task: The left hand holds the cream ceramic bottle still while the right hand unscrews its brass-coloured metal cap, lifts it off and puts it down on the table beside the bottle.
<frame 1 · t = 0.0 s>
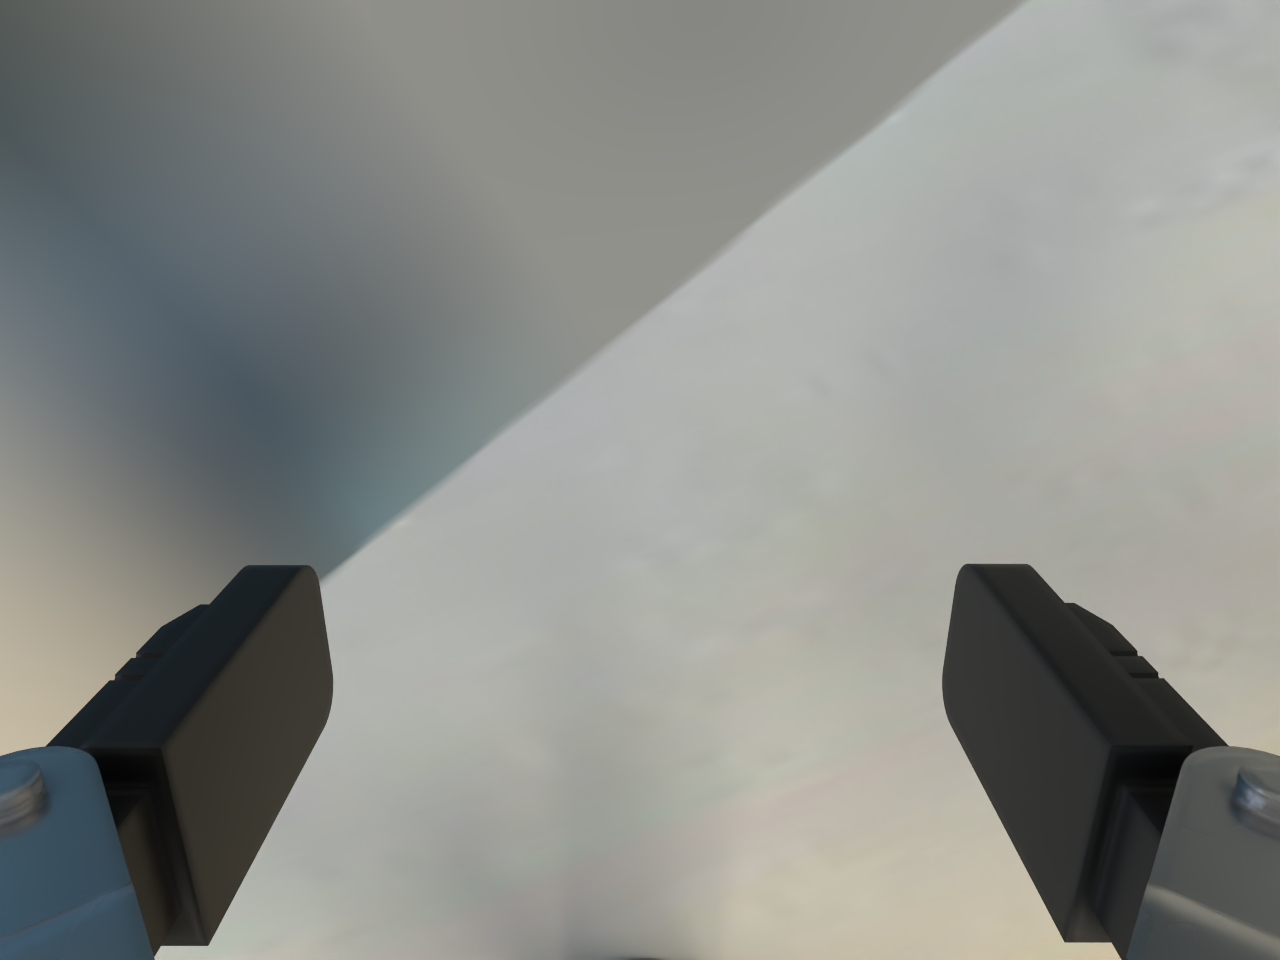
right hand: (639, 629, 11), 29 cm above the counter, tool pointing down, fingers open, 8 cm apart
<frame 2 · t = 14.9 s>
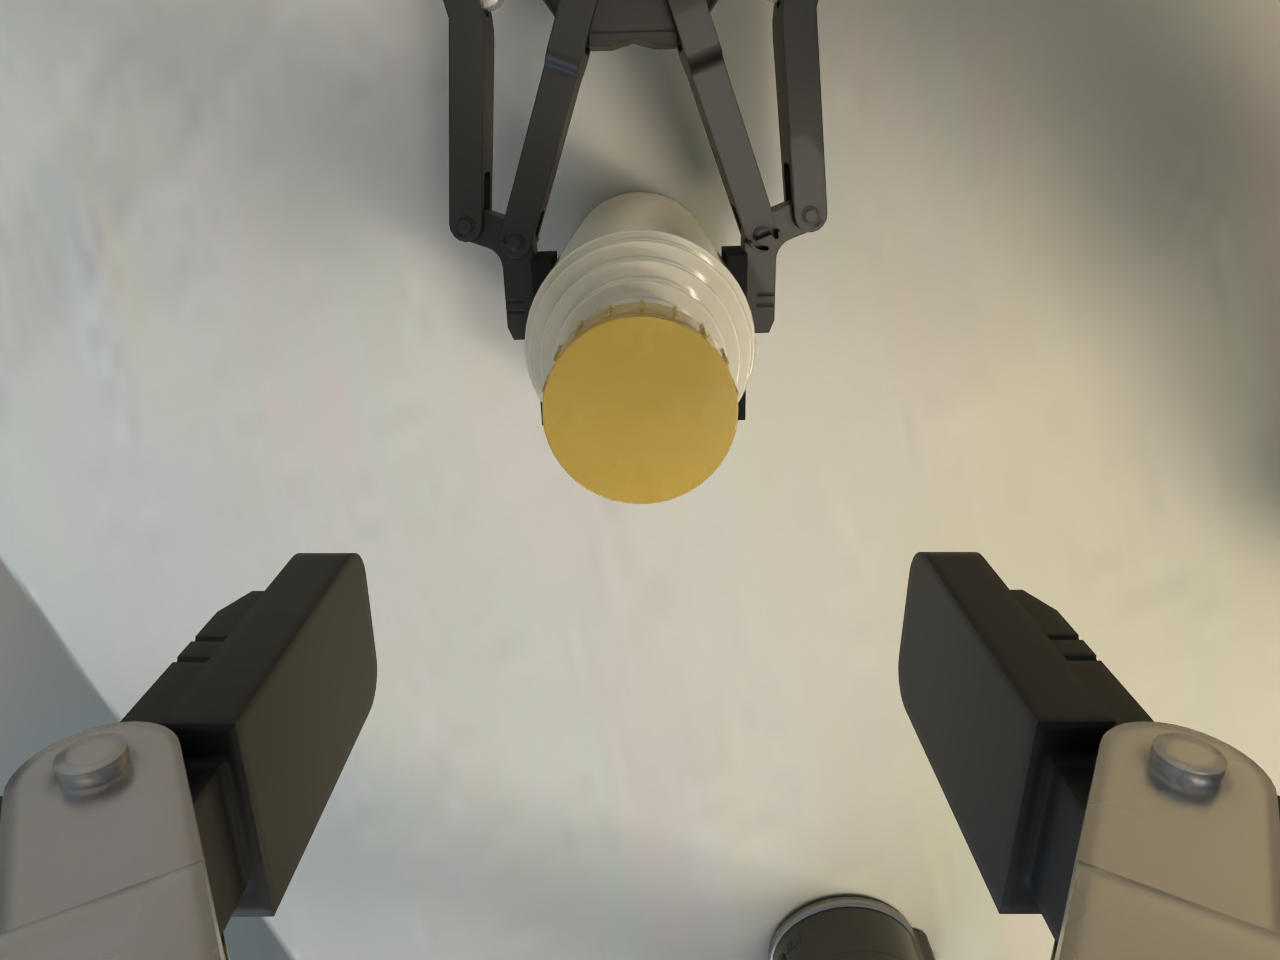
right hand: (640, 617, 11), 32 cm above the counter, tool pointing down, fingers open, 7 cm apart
left hand: (643, 411, 37), fingers closed on bottle, 7 cm apart
bottle: (640, 266, 41), on the counter, touching left hand
cap: (640, 410, 20), point 23 cm above the counter, screwed on, not yet turned
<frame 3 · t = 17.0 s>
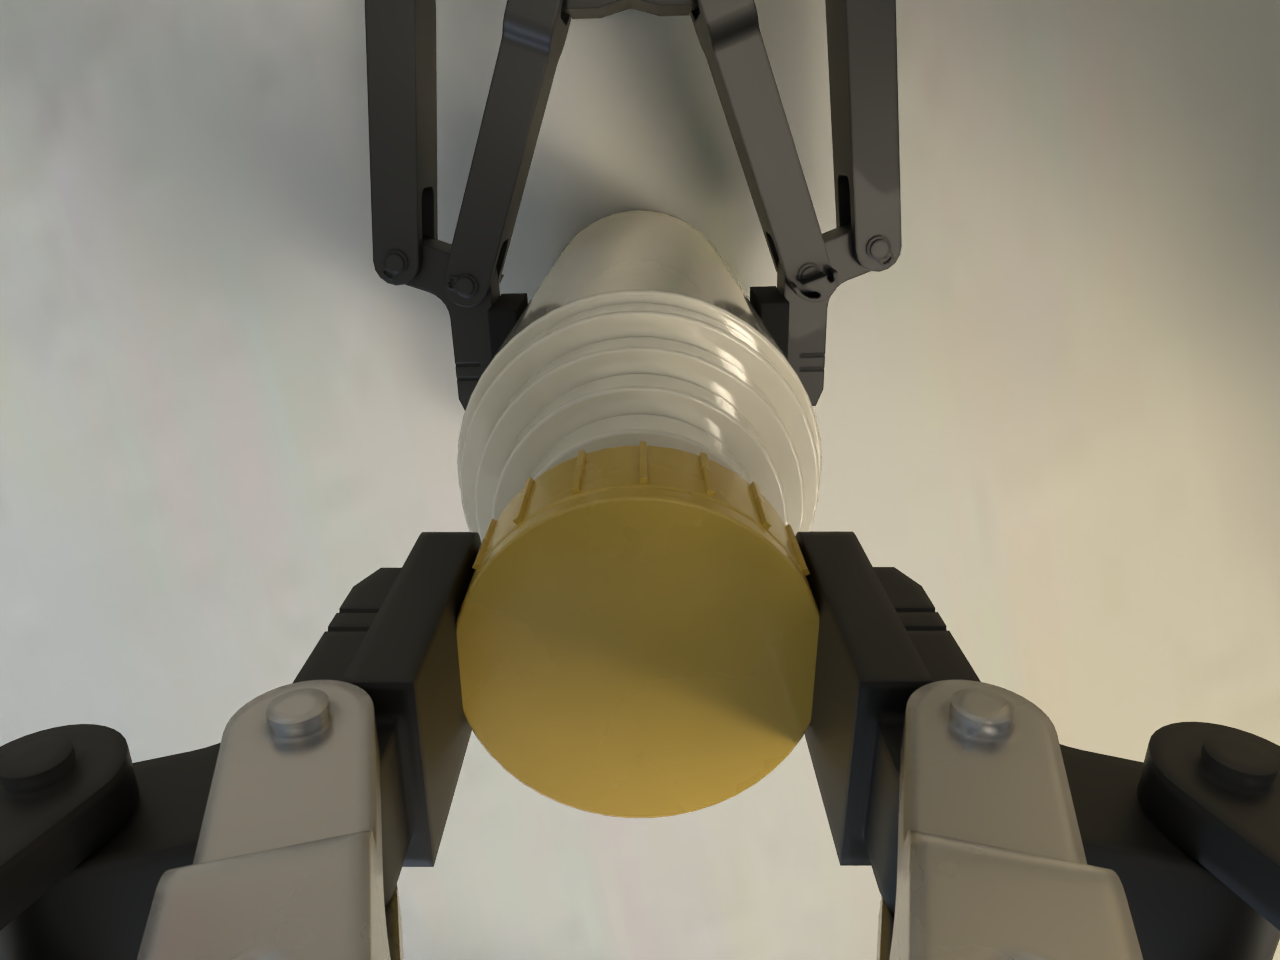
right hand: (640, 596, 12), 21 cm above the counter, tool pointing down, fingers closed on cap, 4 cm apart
bottle: (639, 306, 32), on the counter, touching left hand
cap: (639, 656, 11), point 23 cm above the counter, screwed on, not yet turned, touching right hand
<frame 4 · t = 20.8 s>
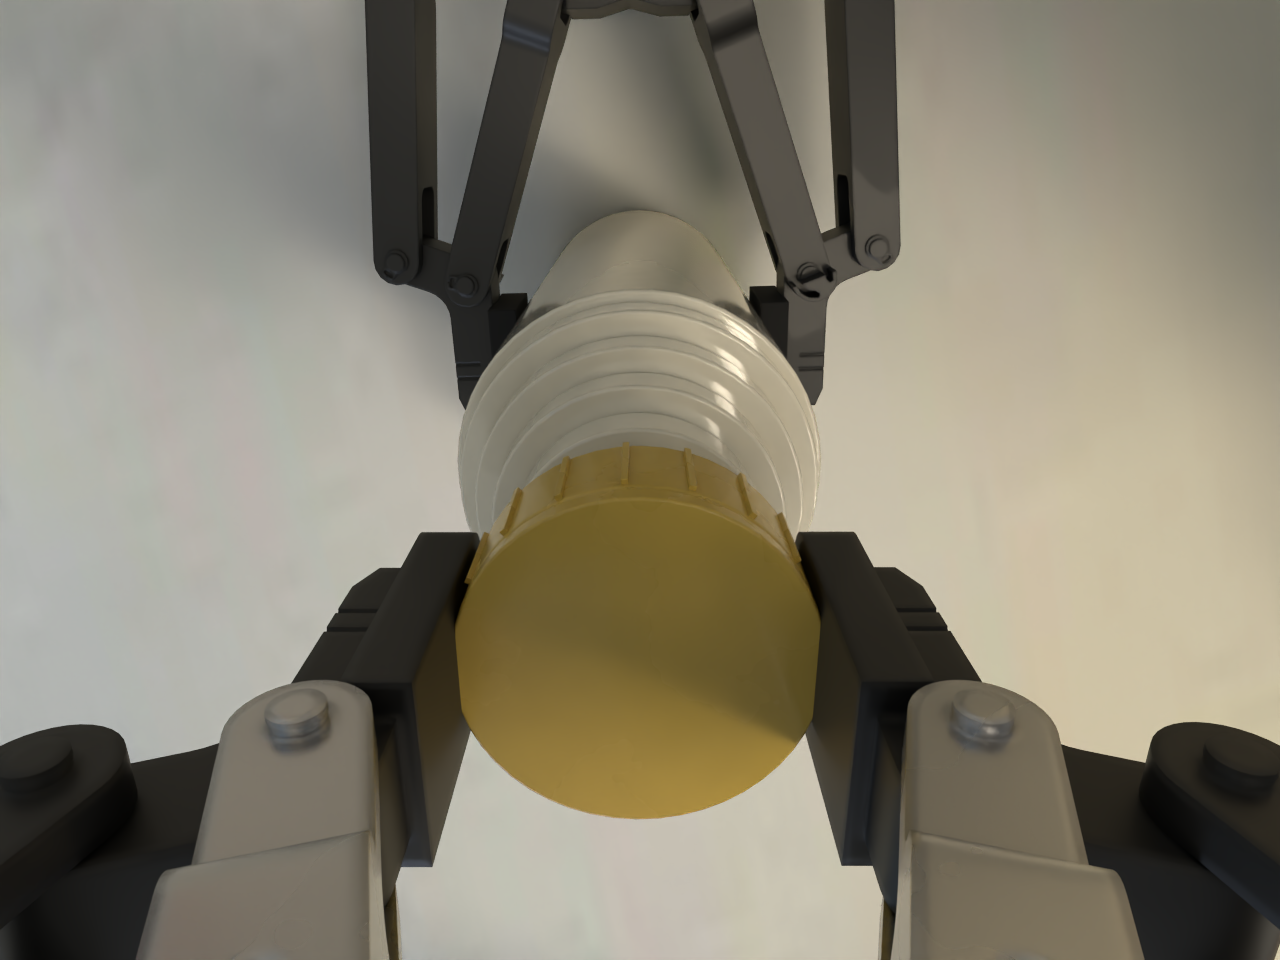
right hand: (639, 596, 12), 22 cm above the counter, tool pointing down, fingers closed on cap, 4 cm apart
bottle: (639, 306, 32), on the counter, touching left hand
cap: (638, 657, 11), point 23 cm above the counter, turned 85° so far, risen 0.1 cm, still on its thread, touching right hand
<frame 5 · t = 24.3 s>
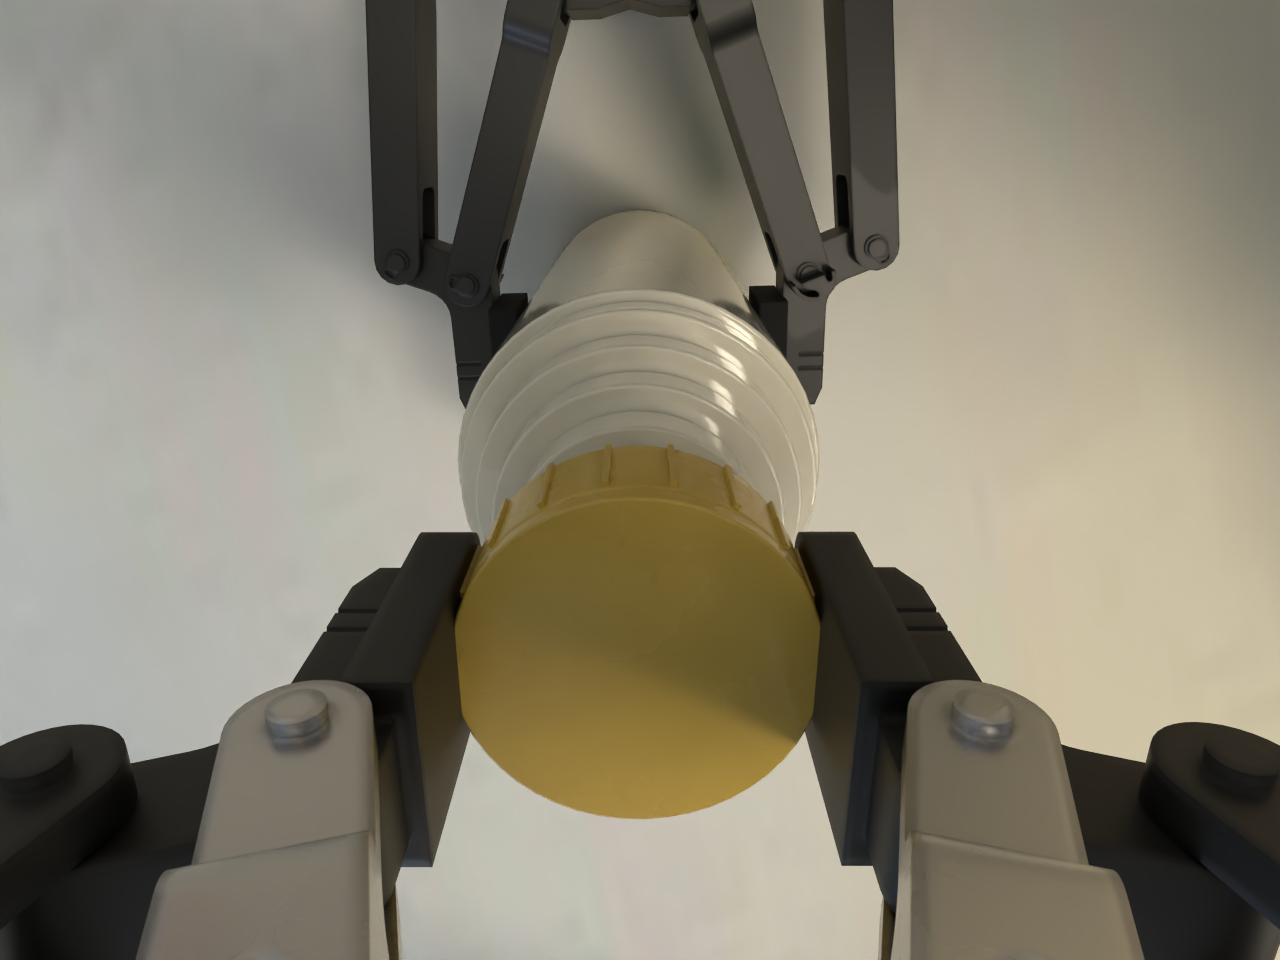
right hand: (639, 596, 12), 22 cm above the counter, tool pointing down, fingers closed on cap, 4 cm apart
bottle: (639, 306, 32), on the counter, touching left hand
cap: (637, 657, 11), point 23 cm above the counter, turned 170° so far, risen 0.2 cm, still on its thread, touching right hand
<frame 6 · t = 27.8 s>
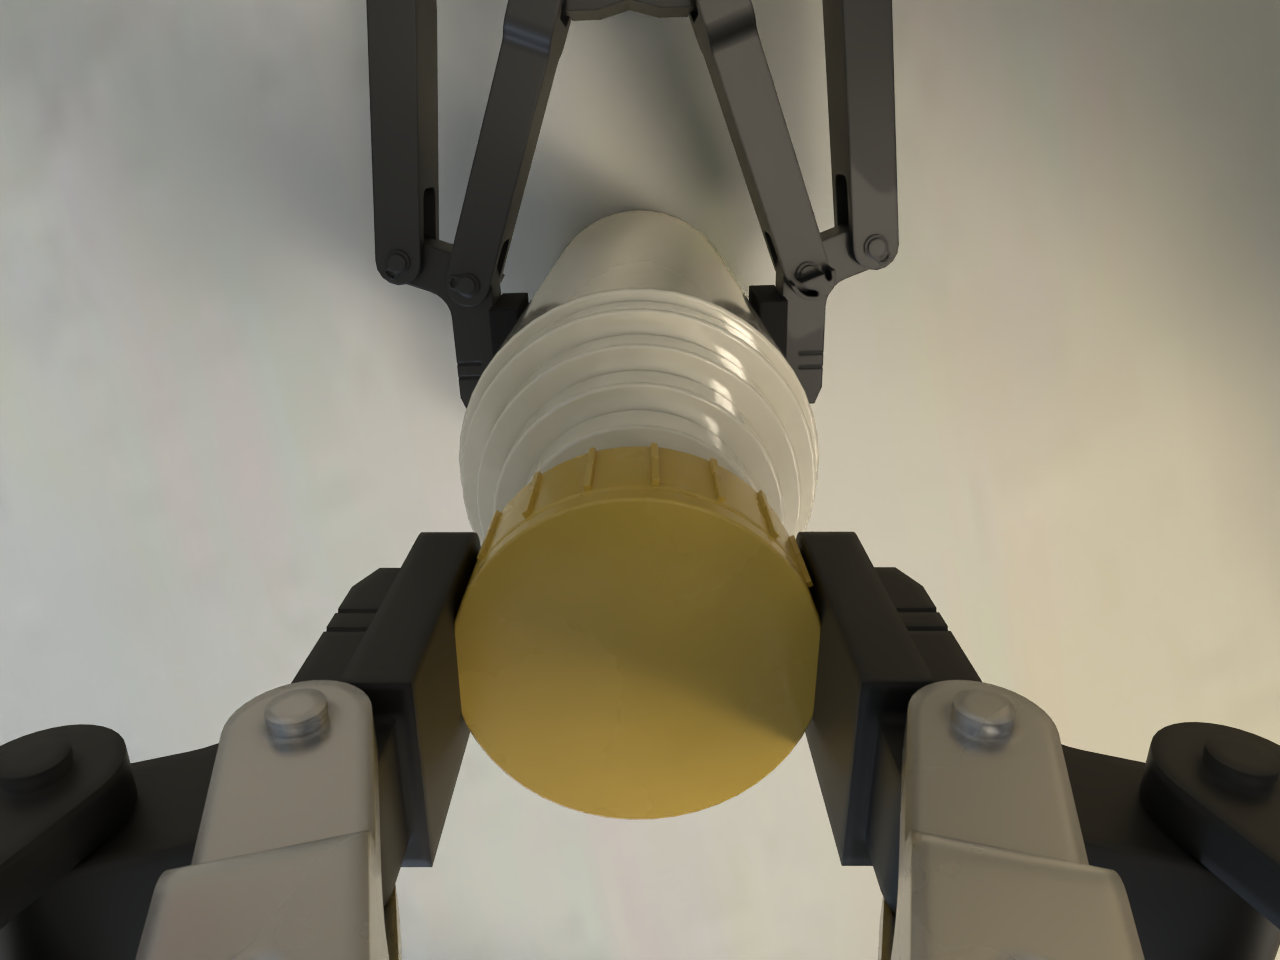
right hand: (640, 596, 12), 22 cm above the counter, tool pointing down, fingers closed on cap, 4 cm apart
bottle: (640, 305, 32), on the counter, touching left hand
cap: (637, 657, 11), point 23 cm above the counter, turned 256° so far, risen 0.2 cm, still on its thread, touching right hand
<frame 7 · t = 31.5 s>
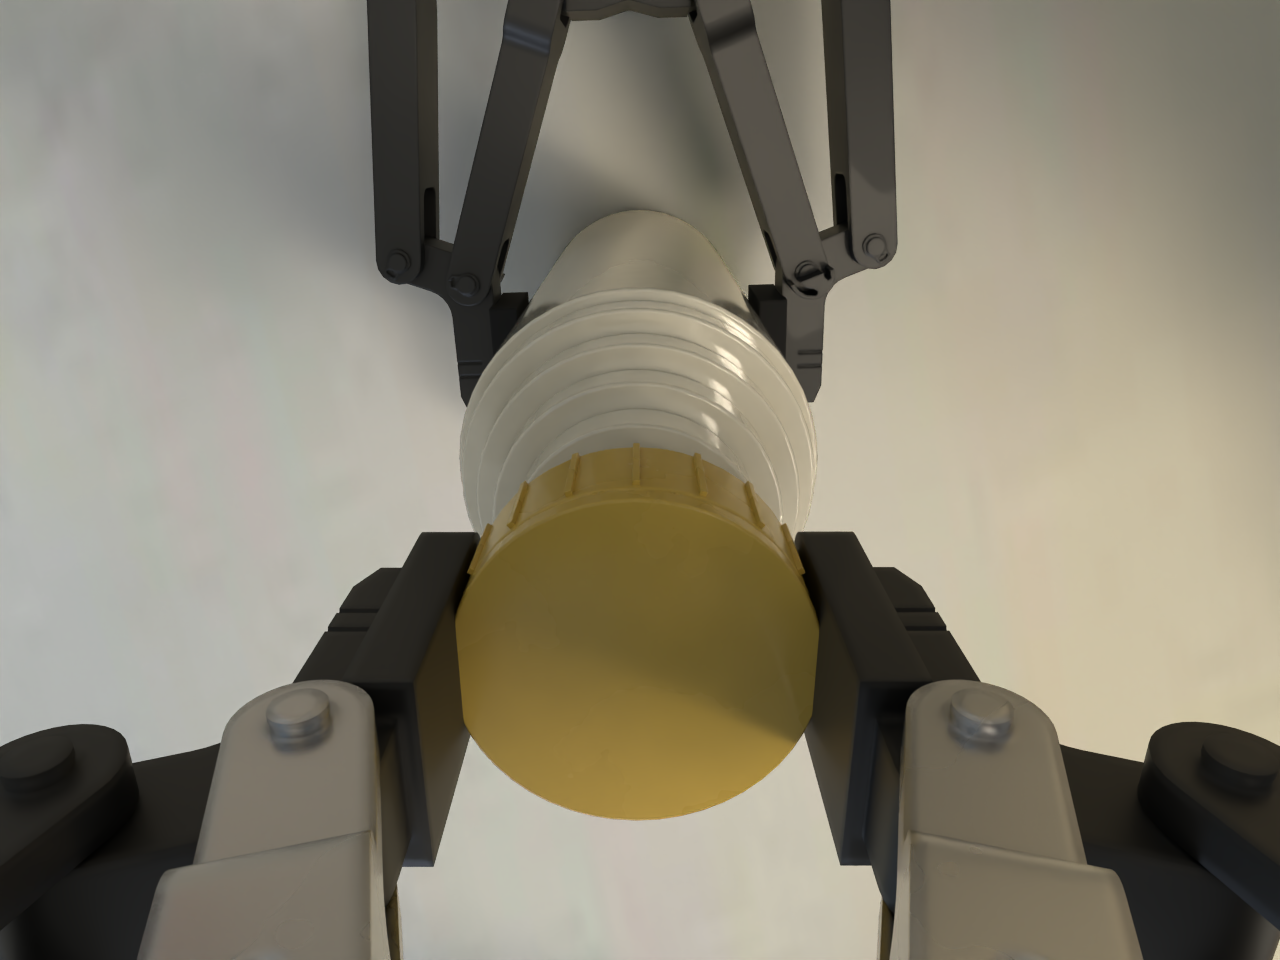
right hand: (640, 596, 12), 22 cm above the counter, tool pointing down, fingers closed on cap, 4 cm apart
bottle: (640, 305, 32), on the counter, touching left hand
cap: (636, 658, 11), point 23 cm above the counter, turned 341° so far, risen 0.3 cm, still on its thread, touching right hand
when the right hand's fingers open (1 cm above the counter, at t = 42.4 s): cap drops 1 cm, point 1 cm above the counter.
when the left hand's fingers open (7 cm above the counter, at t = 43.5 s): bottle stays where it is, on the counter.
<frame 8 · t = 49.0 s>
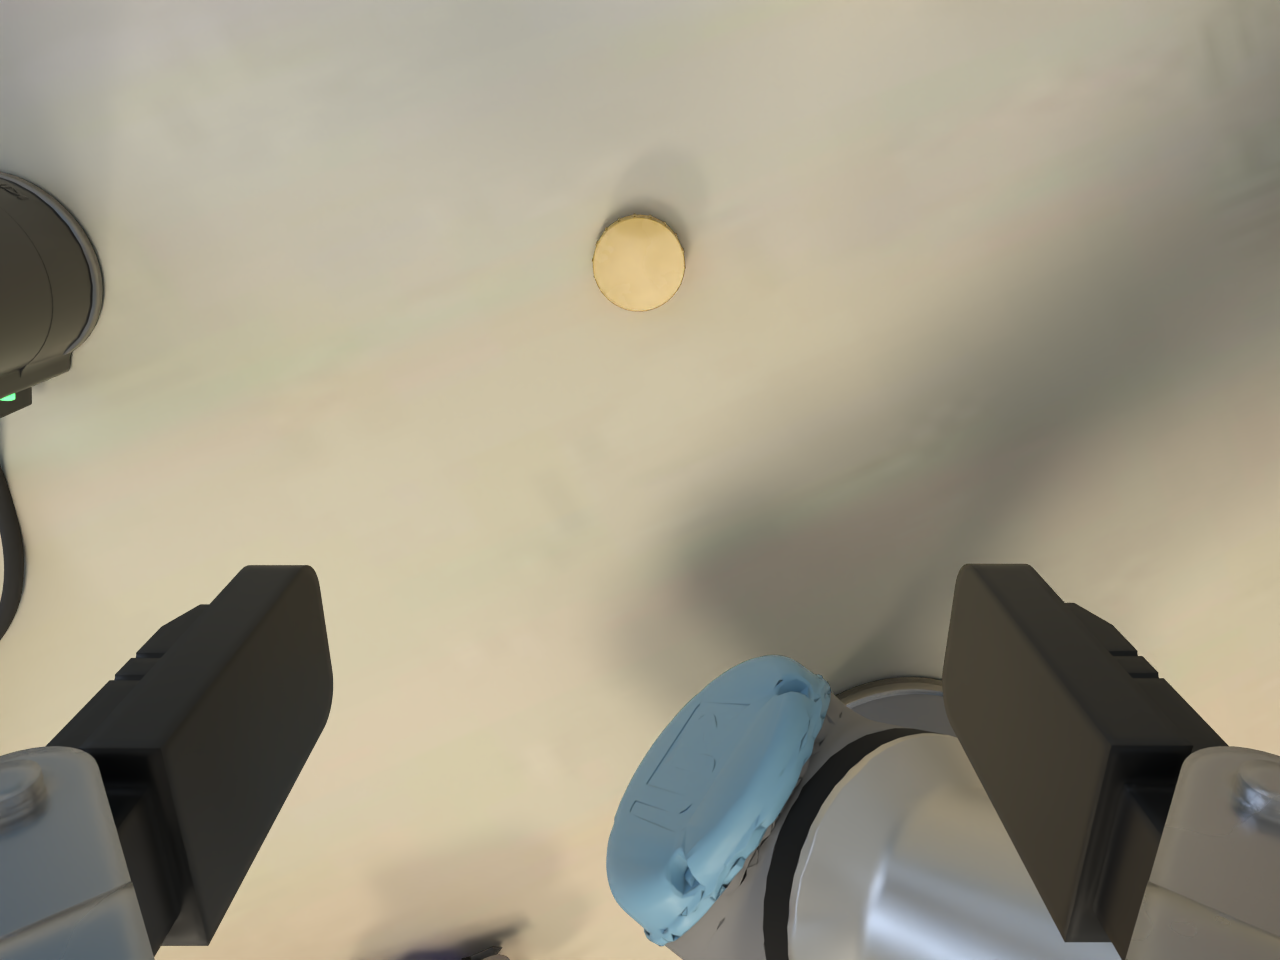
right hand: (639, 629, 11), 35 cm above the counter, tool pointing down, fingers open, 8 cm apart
cap: (638, 264, 42), point 1 cm above the counter, off its thread
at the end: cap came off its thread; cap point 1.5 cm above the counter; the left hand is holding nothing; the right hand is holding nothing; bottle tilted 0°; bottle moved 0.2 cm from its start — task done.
